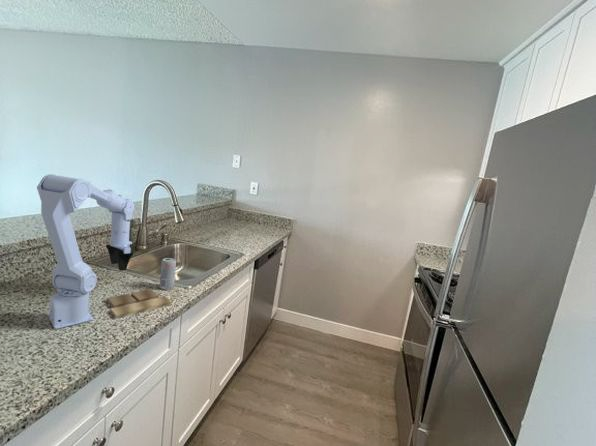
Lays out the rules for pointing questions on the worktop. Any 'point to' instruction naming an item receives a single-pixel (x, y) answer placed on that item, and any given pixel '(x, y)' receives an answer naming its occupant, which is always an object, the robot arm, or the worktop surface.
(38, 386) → the worktop surface
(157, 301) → the laid board
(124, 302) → the brown flat square block
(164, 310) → the worktop surface
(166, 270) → the energy drink
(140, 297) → the plank
